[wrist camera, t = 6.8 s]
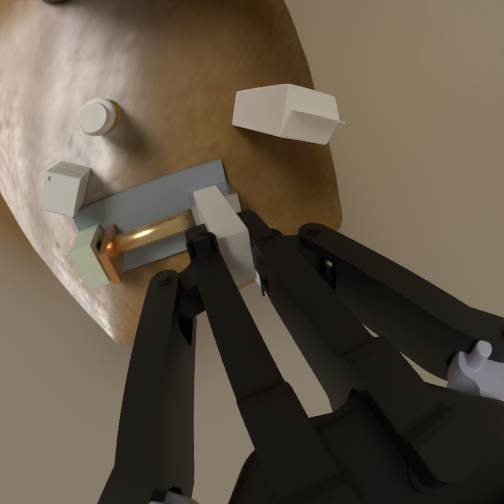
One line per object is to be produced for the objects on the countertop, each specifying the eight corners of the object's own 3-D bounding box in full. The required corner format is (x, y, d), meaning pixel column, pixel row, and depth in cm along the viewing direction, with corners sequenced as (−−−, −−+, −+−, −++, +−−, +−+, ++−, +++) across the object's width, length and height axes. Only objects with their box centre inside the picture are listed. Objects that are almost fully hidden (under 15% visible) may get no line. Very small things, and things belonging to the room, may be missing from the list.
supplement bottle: (125, 100, 34) (116, 97, 26) (118, 133, 36) (108, 139, 28) (93, 98, 31) (76, 96, 23) (87, 131, 34) (69, 137, 26)
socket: (79, 231, 40) (68, 254, 33) (98, 223, 40) (89, 245, 34) (95, 264, 44) (89, 290, 37) (114, 257, 44) (109, 282, 38)
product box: (54, 194, 36) (39, 209, 30) (60, 160, 34) (45, 170, 28) (84, 202, 39) (73, 218, 33) (92, 167, 37) (81, 178, 31)
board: (73, 211, 39) (71, 214, 38) (219, 158, 44) (221, 159, 43) (104, 275, 47) (104, 279, 46) (236, 229, 51) (237, 232, 50)
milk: (236, 91, 39) (302, 79, 21) (270, 96, 41) (353, 95, 23) (231, 126, 42) (292, 141, 23) (265, 129, 44) (343, 150, 26)
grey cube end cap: (185, 193, 44) (191, 207, 38) (225, 181, 45) (237, 192, 39) (195, 226, 47) (202, 244, 42) (233, 214, 48) (245, 230, 43)
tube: (92, 232, 40) (80, 262, 32) (201, 192, 44) (213, 214, 36) (105, 256, 43) (97, 290, 35) (209, 219, 47) (222, 246, 39)
